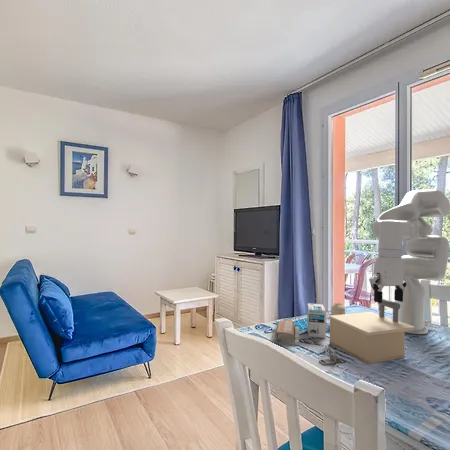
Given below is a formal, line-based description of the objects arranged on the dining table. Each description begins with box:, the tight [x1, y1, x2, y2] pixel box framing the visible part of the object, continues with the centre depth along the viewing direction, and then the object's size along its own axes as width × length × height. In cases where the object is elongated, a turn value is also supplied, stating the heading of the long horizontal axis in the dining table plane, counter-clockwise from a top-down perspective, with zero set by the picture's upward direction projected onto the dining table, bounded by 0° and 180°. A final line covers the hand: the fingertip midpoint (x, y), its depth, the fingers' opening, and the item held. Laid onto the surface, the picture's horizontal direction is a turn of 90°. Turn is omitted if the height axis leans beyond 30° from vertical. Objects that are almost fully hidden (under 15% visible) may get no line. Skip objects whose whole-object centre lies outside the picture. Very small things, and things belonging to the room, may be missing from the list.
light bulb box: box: [306, 302, 327, 339], centre depth 128 cm, size 11×7×11 cm, turn 168°
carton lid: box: [328, 298, 415, 336], centre depth 112 cm, size 20×19×8 cm
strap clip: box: [318, 348, 347, 366], centre depth 101 cm, size 8×3×4 cm, turn 108°
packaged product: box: [271, 319, 300, 347], centre depth 124 cm, size 18×5×10 cm
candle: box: [330, 302, 346, 316], centre depth 137 cm, size 6×6×10 cm
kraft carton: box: [329, 319, 406, 365], centre depth 111 cm, size 16×18×9 cm
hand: (388, 301), depth 114 cm, fingers open, 9 cm apart
